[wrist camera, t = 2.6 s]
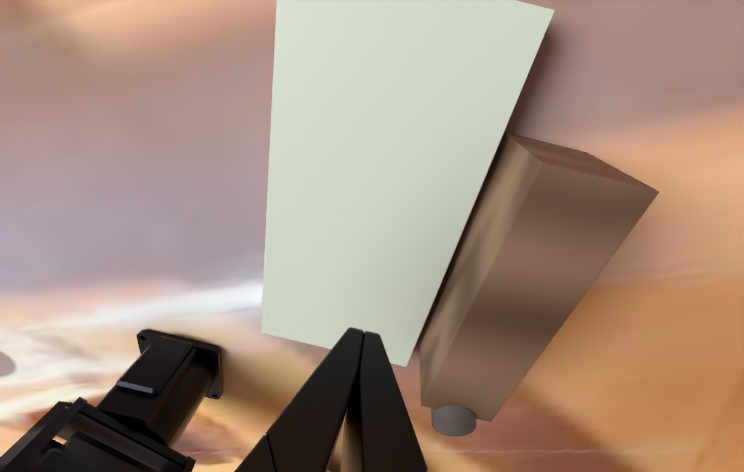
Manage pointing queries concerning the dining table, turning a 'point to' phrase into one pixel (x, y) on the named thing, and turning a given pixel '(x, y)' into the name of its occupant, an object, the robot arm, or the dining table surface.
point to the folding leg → (519, 273)
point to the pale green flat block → (381, 155)
